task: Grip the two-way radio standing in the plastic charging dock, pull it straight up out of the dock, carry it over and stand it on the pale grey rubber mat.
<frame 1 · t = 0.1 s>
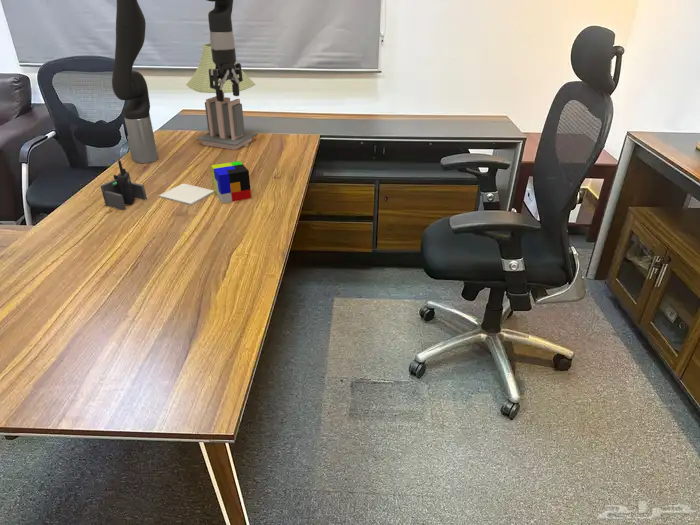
hand: (228, 98, 165), 29 cm above the table, fingers open, 8 cm apart
dock: (127, 202, 162), on the table
desk lamp: (227, 142, 217), on the table
two-way radio: (127, 202, 163), resting in dock
puzzle toy: (232, 196, 169), on the table
mat: (187, 194, 169), on the table
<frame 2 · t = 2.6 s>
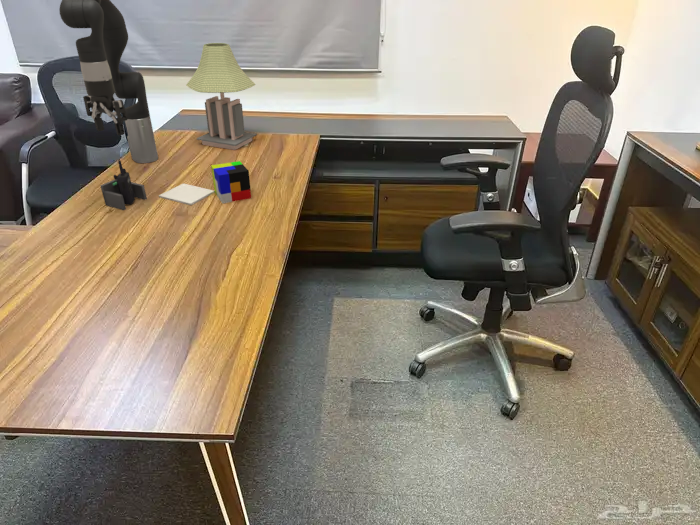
hand: (110, 132, 150), 23 cm above the table, fingers open, 8 cm apart
nothing on the table moved.
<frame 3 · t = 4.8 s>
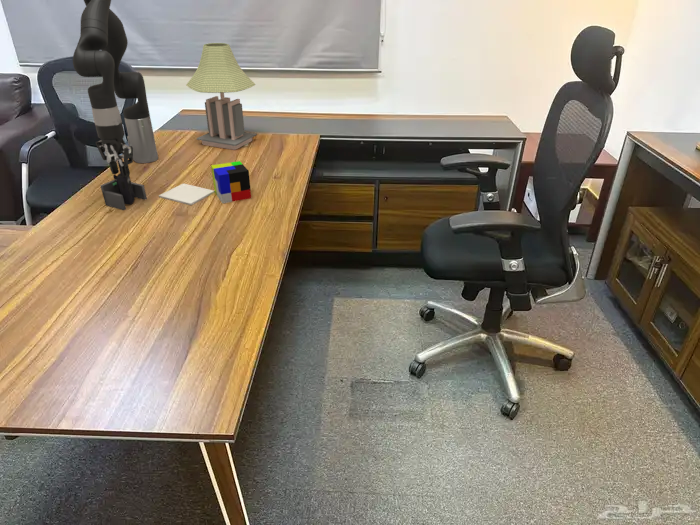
hand: (121, 174, 157), 10 cm above the table, fingers closed on two-way radio, 4 cm apart
two-way radio: (127, 202, 163), resting in dock, touching gripper
everything else where it was.
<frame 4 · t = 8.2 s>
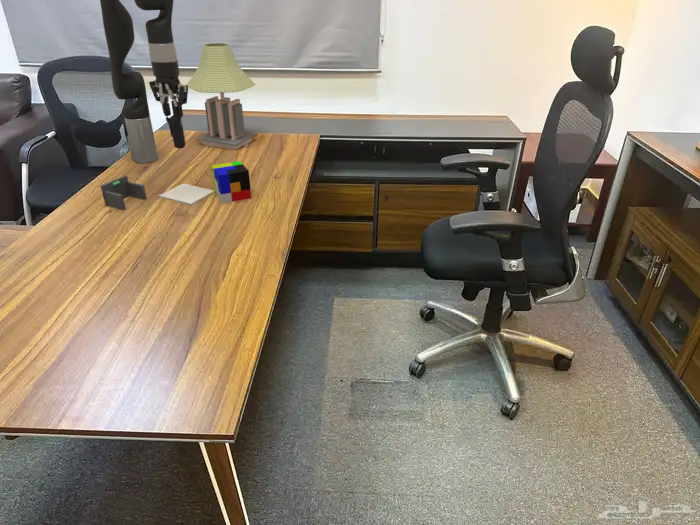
hand: (173, 116, 155), 27 cm above the table, fingers closed on two-way radio, 4 cm apart
two-way radio: (178, 147, 160), point 17 cm above the table, touching gripper
everything else where it was.
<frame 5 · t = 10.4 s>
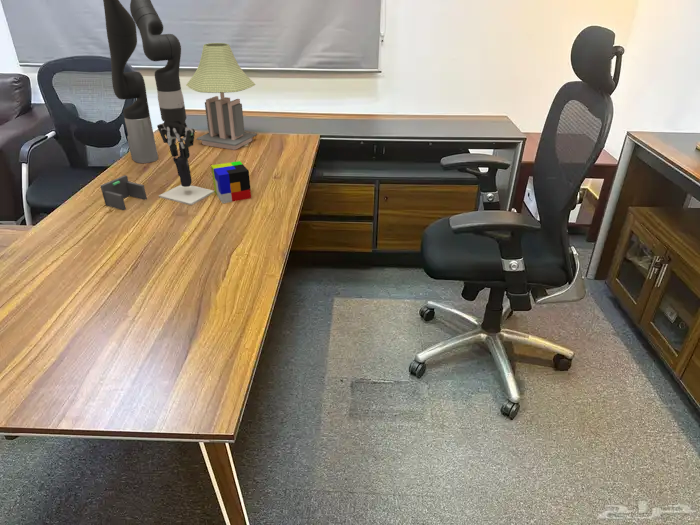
hand: (180, 157, 162), 13 cm above the table, fingers closed on two-way radio, 4 cm apart
two-way radio: (185, 185, 167), point 3 cm above the table, touching gripper
everything else where it was.
when the fingers open (11 cm above the table, at t = 11.8 s): two-way radio stays where it is, resting on mat.
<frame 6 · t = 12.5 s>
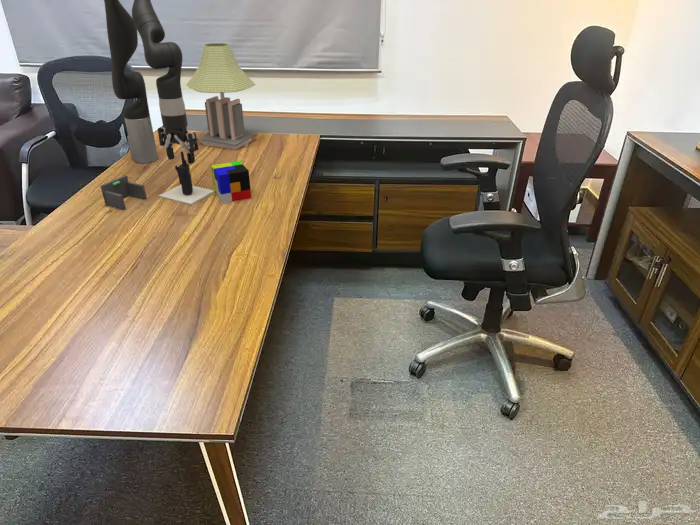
hand: (181, 161, 162), 12 cm above the table, fingers open, 8 cm apart
two-way radio: (186, 193, 168), resting on mat
everything else where it was.
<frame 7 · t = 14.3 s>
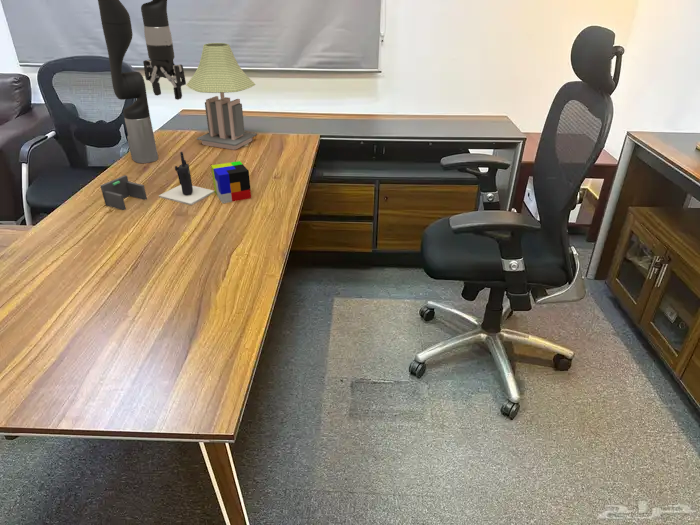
hand: (168, 97, 156), 32 cm above the table, fingers open, 8 cm apart
nothing on the table moved.
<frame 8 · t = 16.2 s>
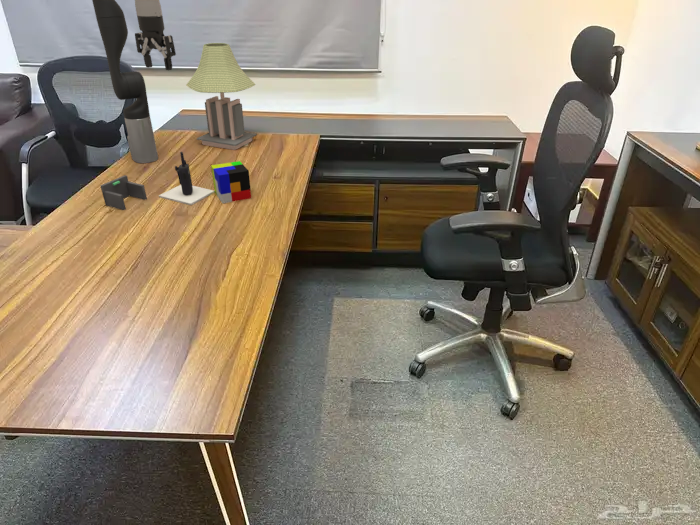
hand: (159, 68, 162), 38 cm above the table, fingers open, 8 cm apart
nothing on the table moved.
at the end: two-way radio 0.3 cm from the mat (horizontally); two-way radio tilted 0°; the gripper is holding nothing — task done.
